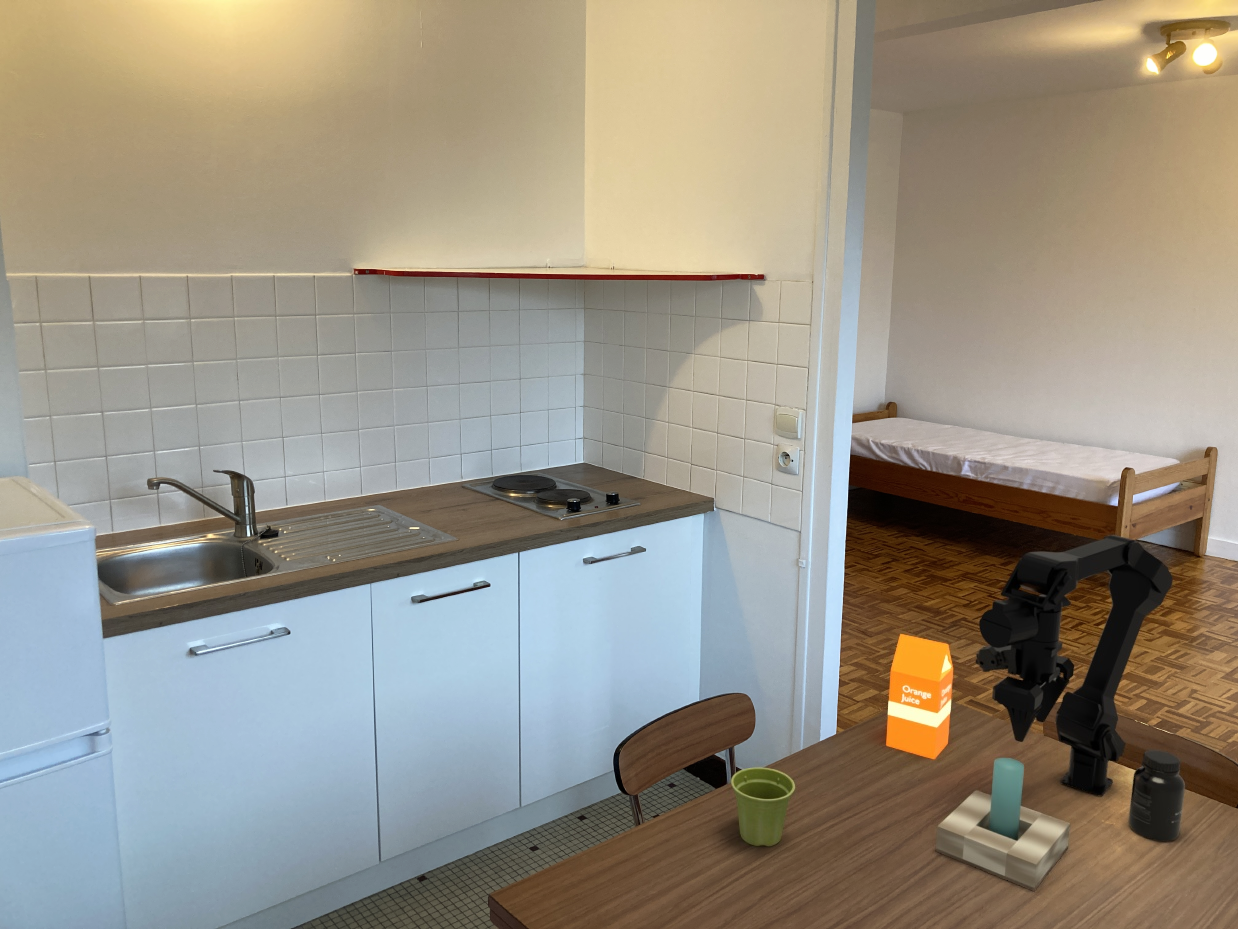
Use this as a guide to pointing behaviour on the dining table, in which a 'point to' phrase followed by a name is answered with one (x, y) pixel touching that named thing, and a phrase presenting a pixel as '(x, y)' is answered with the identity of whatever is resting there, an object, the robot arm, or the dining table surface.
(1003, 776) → the teal cylinder
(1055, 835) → the cream square wooden frame
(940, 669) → the orange juice
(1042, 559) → the robot arm
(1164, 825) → the supplement bottle
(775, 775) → the plant pot
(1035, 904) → the dining table surface
